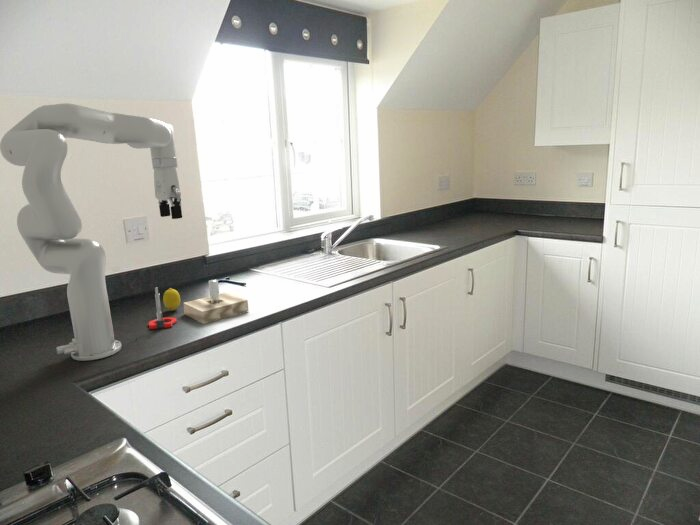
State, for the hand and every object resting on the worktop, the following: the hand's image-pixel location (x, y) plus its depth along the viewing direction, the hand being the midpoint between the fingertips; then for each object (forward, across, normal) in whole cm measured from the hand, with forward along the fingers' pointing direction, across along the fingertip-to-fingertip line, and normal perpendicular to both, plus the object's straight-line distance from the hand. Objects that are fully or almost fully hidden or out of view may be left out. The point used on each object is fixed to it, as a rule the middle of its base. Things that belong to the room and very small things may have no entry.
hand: (171, 217), depth 169 cm
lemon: (+32, -3, -2) cm, 32 cm away
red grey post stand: (+32, +8, -10) cm, 35 cm away
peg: (+32, +11, +7) cm, 34 cm away
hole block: (+32, +11, +7) cm, 34 cm away
